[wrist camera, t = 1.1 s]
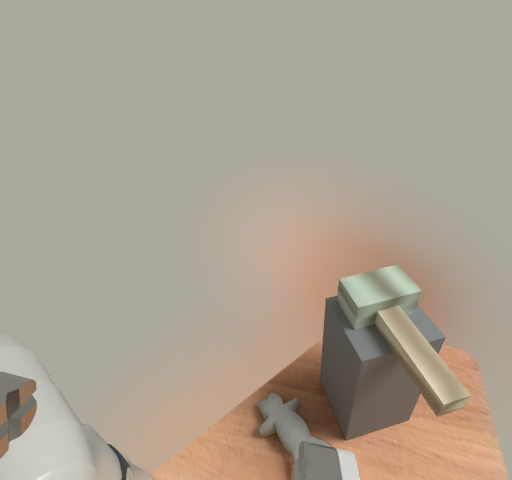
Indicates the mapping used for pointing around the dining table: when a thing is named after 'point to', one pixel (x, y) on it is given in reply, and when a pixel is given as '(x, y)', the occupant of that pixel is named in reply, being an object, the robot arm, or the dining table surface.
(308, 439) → the grey soft figure
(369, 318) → the mallet
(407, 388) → the stand
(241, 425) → the dining table surface
